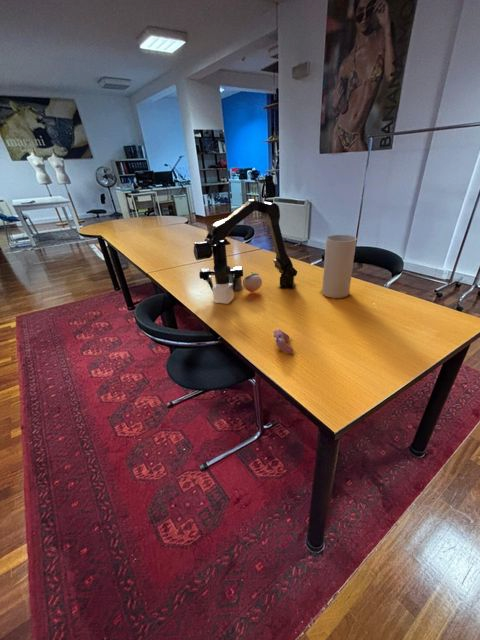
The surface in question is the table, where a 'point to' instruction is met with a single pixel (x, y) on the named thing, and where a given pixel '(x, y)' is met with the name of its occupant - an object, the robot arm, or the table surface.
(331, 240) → the cylinder vase
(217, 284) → the medicine bottle
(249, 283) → the decorative fruit
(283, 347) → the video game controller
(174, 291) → the table surface
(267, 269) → the table surface
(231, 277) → the glazed cup
